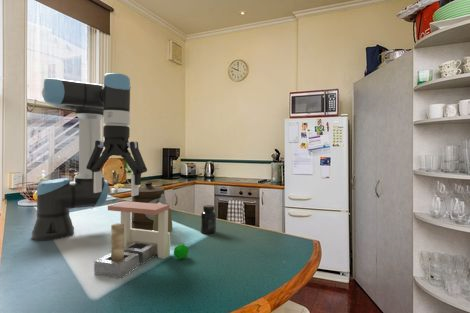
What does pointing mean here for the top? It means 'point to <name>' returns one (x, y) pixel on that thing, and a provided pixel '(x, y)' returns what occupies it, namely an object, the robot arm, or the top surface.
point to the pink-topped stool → (145, 235)
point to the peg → (117, 242)
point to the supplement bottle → (208, 220)
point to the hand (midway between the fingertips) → (115, 194)
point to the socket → (116, 265)
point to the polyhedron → (181, 251)
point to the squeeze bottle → (155, 224)
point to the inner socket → (142, 250)
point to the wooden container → (146, 196)
